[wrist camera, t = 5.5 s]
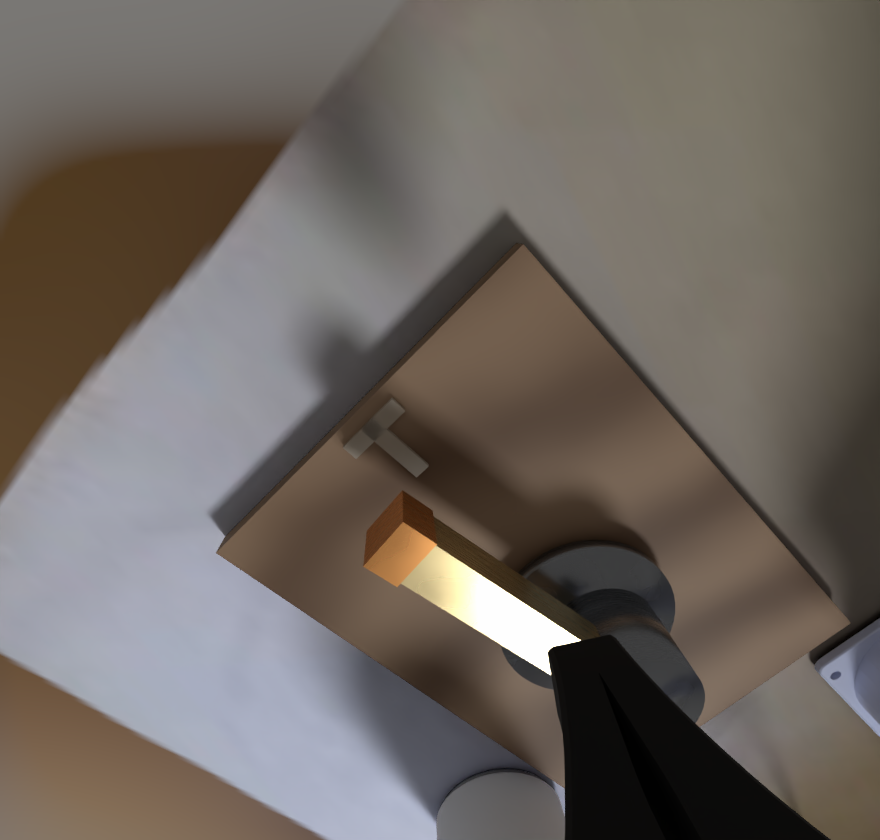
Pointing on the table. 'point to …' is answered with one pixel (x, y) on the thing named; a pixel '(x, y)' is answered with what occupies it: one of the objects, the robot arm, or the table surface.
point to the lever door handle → (538, 596)
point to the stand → (527, 509)
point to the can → (501, 809)
